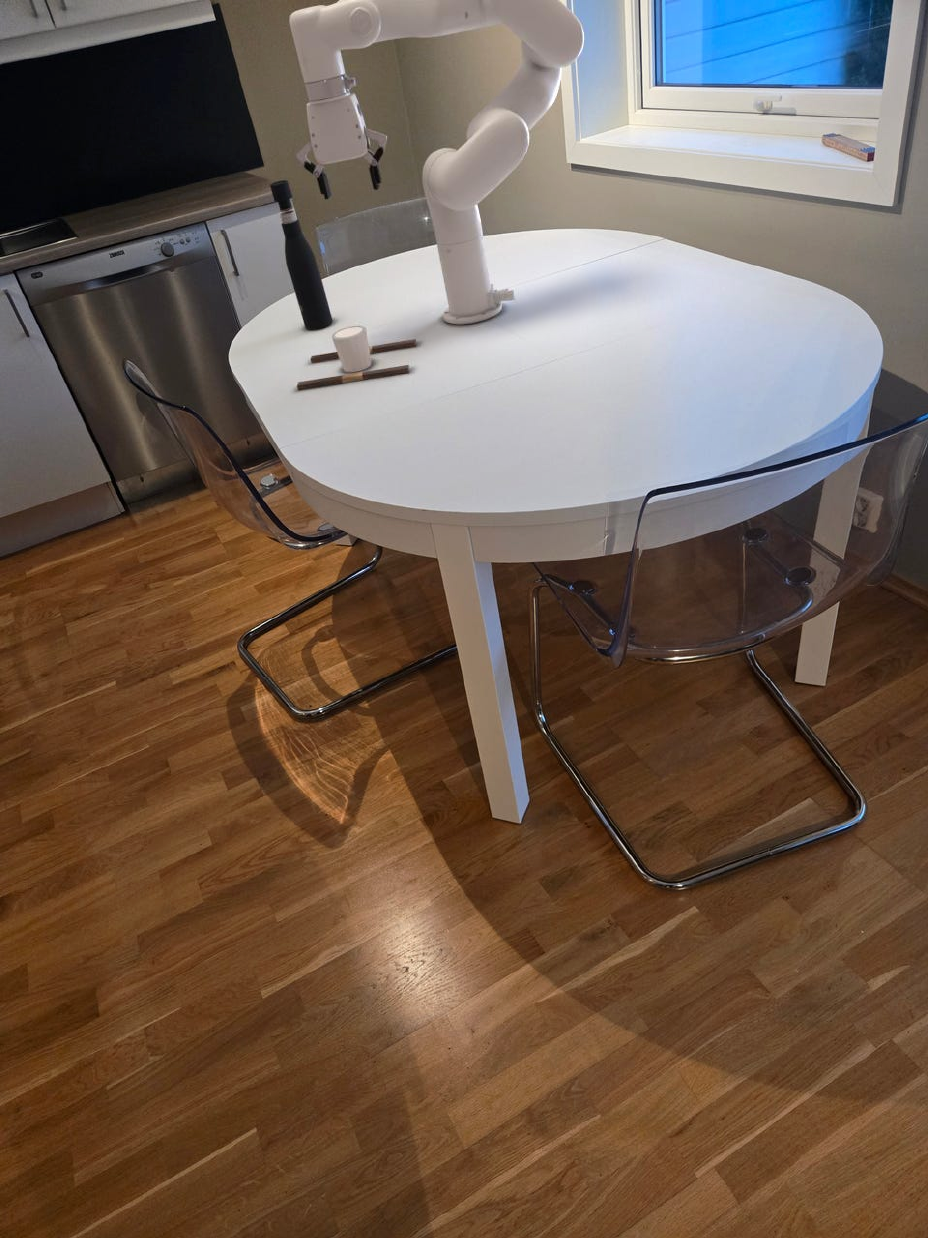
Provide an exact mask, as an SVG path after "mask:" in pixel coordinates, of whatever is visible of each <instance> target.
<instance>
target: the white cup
mask: <svg viewBox="0 0 928 1238" xmlns="http://www.w3.org/2000/svg"><path fill="white" fill-rule="evenodd" d="M331 339H332V342H333V345H334V348H335V350H336V352H337V353H338V355H339V358H340V359H339V360H340V364H341V366H342V368H343V371H344V372H346V373H359V372H362V371H364V370H366V369H368V368H370V367H371V366H372V358H371V354H370V350H369V347H370V345H369V339H368V332H367V328H366V327H365V326H364V325H351V326H346V327H343V328H341V329H338V330H335V332H333V333H332V334H331Z"/></svg>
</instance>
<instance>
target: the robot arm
mask: <svg viewBox="0 0 928 1238" xmlns="http://www.w3.org/2000/svg"><path fill="white" fill-rule="evenodd" d="M288 21H289V28H290V31H291V35H292V39H293V43H294V48H295V51H296V56H297V59H298V63H299V68H300V71H301V75H302V78H303V79H302V80H303V83H304V87H305V91H306V95H307V100H308V103H306V116H307V123H308V125H307V126H308V130H309V137H310V140H309V141H308V142H307V143H306V144H305V145H304V146H303V147H302V148H301V149H300V150H299V151H297V152H296V154H295V157H296V158H297V160H298V161H299V162H300V164H301V165H302V166H303V167H304V169H305V170H306V171H308V173H310V174H312V175H313V177H315V178H316V181H317V186H318V188H319V192H320V195H323V198H324V200H325V201H326V200H329V199H330V198H331V196H332V192H331V187H330V184H329V180H328V176H327V174H326V173H325V172H324V170H325V167H326V165H328V164H334V163H338V162H339V163H340V162H344V161H345V162H346V161H349V160H354V159H359V158H363V159H364V160H365V161H366V162H367V163H369V168H368V170H369V175H370V179H371V183H372V187H373V190H374V191H377V190H379V188H380V184H382V177H381V172H380V167H379V162H380V160H381V158H382V157H383V154H384V153H385V151H386V145H387V141H388V136H387V135H386V134H384V133H382V132H379V131H375V130H373V129H370V128H367V126H366V123H365V118H364V116H363V112H362V110H361V106H360V104H359V100H358V98H357V95H356V93H355V92H353V93H351V92H350V91H351V89H352V88H353V87H356V86H357V81H356V77H354V76H353V77H349V76H348V74H347V73H346V69H345V65H344V61H343V56H342V51H344V50H357V49H359V50H360V49H365V48H368V47H370V46H371V45H372V44H376V43H379V42H385V41H391V40H397V39H407V38H426V39H427V38H434V37H443V36H447V35H453V34H459V33H461V32H468V31H473V30H479V29H484V28H489V27H494V26H500V25H504V26H506V28H508V29H509V30H510V31H511V32H512V33H513V34H514V35H515V36H516V37H518V38H519V39H520V40H521V42H520V43H521V44H520V45H521V59H520V64H519V68H518V71H517V72H516V73H515V76H514V77H513V78H512V79H511V80H510V82H508V84H507V85H506V86H504V88H503V89H502V90H501V91H500V92H499V93H498V94H497V95H496V96H495V97H494V98H493V99H492V100H491V101H490V102H489V103H488V104H487V105H486V106H485V107H483V108H482V109H481V110H480V111H479V112H478V113H476V115H475V116H474V117H473V118H472V119H471V121H470V122H469V124H468V126H467V129H466V137H465V139H466V142H464V144H463V145H462V146H460V147H459V148H458V149H456V148H452V147H442V148H439V149H437V150H435V151H433V152H432V153H431V154H429V156H428V157H427V159H426V160H425V163H424V164H423V168H422V174H421V179H422V181H421V182H422V187H423V192H424V196H425V199H426V202H427V206H428V209H429V214H430V218H431V222H432V227H433V232H434V238H435V241H436V247H437V253H438V258H439V264H440V269H441V274H442V279H443V284H444V290H445V295H446V300H447V305H448V307H447V308H446V309H444V310H443V313H442V318H443V321H444V322H446V323H448V324H450V325H468V324H476V323H480V322H483V321H487V320H488V319H491V318H493V317H495V316H497V315H498V314H499V313H500V312H501V311H502V309H503V305H502V302H509V301H515V300H516V299H515V292H514V289H513V290H509V288H503V289H500V290H498V289H495V287H494V284H493V283H491V277H490V271H489V264H488V257H487V253H486V245H485V240H484V239H485V238H484V234H483V227H482V226H483V225H482V221H481V216H480V211H479V207H478V206H479V205H478V204H479V203H481V202H482V201H483V200H484V199H485V198H486V197H487V196H489V194H490V193H492V192H493V191H494V190H495V189H496V188H497V187H498V186H499V185H500V184H501V183H502V182H503V181H504V180H505V179H506V178H507V177H508V176H509V175H510V174H511V173H513V171H514V170H515V169H516V168H518V166H519V165H520V164H521V163H522V161H523V159H524V158H525V156H526V154H527V151H528V149H529V144H530V131H531V130H532V129H533V128H534V127H535V125H537V123H538V122H539V121H540V120H541V119H542V118H543V117H544V116H545V114H546V113H547V112H548V111H549V110H550V109H551V107H552V105H553V104H554V102H555V100H556V98H557V95H558V92H559V88H560V84H561V78H562V71H563V68H567V67H569V66H571V65H572V64H573V63H575V62H576V61H577V60H578V58H579V57H580V55H581V53H582V51H583V48H584V43H585V33H584V28H583V25H582V23H581V21H580V20H579V18H578V16H577V15H576V14H575V13H574V12H573V11H572V10H571V9H570V8H568V7H567V6H566V5H565V4H564V3H563V2H562V0H338V1H336V2H335V3H332V4H329V5H324V4H323V5H322V4H320V5H314V6H310V7H306V8H301V9H298V10H295V11H293V12H292V13H291V14H290V15H289V19H288ZM370 140H373V141H376V142H377V149H376V151H375V153H374V152H373V151H371V150H370V149H371V141H370ZM311 151H312V152H313V155H314V158H315V160H316V162H317V163H316V164H315V163H313V162H312V161H310V159H309V158H308V157H307V156H308V154H309V153H310V152H311Z"/></svg>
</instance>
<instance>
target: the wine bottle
mask: <svg viewBox="0 0 928 1238" xmlns="http://www.w3.org/2000/svg"><path fill="white" fill-rule="evenodd" d="M269 188H270V191H271V194H272V198H273V201H274V202H275V203H277V204H278V207H279V211H280V212H281V213H280V216H279V218H280V219H281V220H280V221H281V222H282V223H281V229H282V231H283V234H284V235H283V236H284V255H285V263H286V266H287V270H288V274H289V277H290V281H291V285H292V288H293V291H294V294H295V297H296V301H297V304H298V307H299V311H300V315H301V318H302V321H303V325H304V328H305V330H306V331H318V330H322V329H325V328H328V327H330V326H331V325H332V324H333V322H334V320H333V317H332V313H331V310H330V305H329V302H328V297H327V295H326V291H325V287H324V283H323V280H322V277H321V273H320V270H319V265H318V263H317V259H316V258H317V257H316V255H315V253H314V251H313V249H312V247H311V244H310V243H309V241H308V239H307V238H306V236H305V235H304V234H303V231H302V228H301V227H302V226H301V224H300V220H299V219H298V218H297V216H296V214H297V213H296V212H295V210H292V209H293V206H292V202H291V199H293V194H292V190H291V187H290V183H289V181H288V179H284V180H278V181H274V182H271V183H270V184H269Z"/></svg>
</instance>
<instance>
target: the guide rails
mask: <svg viewBox="0 0 928 1238" xmlns="http://www.w3.org/2000/svg"><path fill="white" fill-rule="evenodd" d="M414 347H417V339H416V338H412V339H407V340H401V341H394V342H388V343H382V344H376V345H371V346H370V345H369V350H370V355H371V354H376V353H377V354H378V353H383V352H389V351H390V352H391V351H395V350H401V349H402V350H403V349H408V348H414ZM335 360H340V358H339V355H338V353H337V351H333V352H327V353H321V354H315V355H311V356H310V362H311V364H316V363H321V362H322V363H323V362H329V361H335ZM402 374H410V364H404V365H399V366H392V367H386V368H380V369H372V370H367V371H359V372H352V373H348V374H343V375H342V374H341V375H335V376H330V377H324V378H316V379H311V380H305V381H298V382H297V384H296V389H297V391H302V390H308V389H314V388H321V387H327V386H335V385H339V384H347V383H354V382H358V381H359V382H360V381H365V380H371V379H378V378H383V377H390V376H396V375H402Z"/></svg>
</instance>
